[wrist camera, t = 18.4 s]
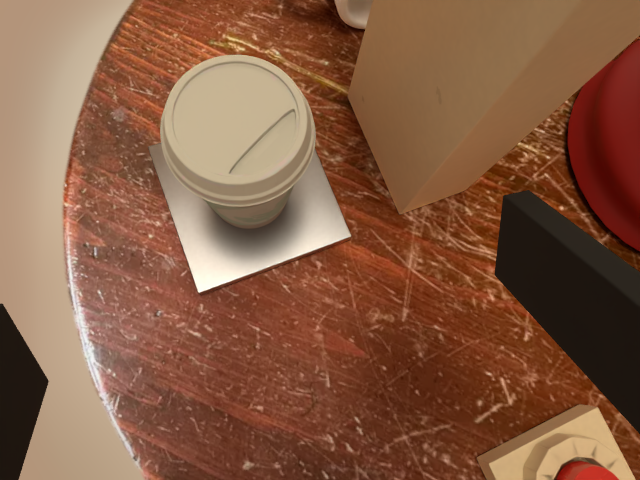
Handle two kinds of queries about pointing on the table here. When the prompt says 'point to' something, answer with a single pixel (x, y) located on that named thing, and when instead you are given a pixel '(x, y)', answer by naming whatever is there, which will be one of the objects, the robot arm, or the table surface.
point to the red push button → (585, 472)
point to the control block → (557, 448)
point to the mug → (354, 12)
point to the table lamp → (610, 144)
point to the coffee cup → (238, 137)
